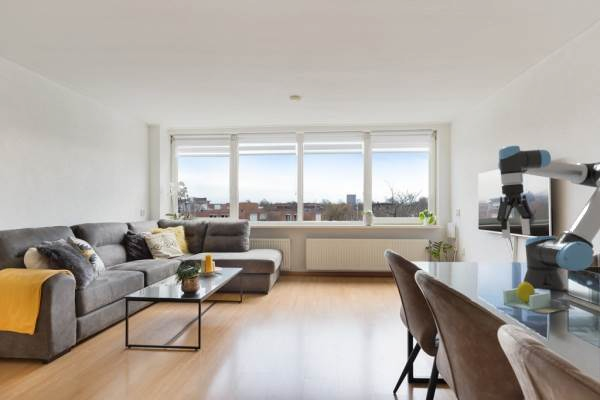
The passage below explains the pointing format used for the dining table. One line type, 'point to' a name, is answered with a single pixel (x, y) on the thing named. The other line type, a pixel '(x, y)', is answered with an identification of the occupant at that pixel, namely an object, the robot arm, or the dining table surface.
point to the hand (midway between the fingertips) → (516, 236)
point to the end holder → (534, 300)
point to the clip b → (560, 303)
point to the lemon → (525, 291)
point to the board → (547, 310)
